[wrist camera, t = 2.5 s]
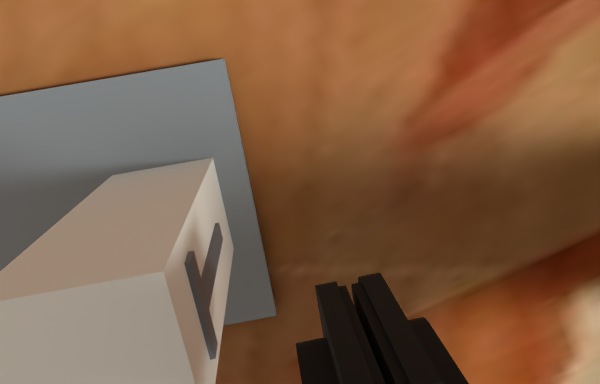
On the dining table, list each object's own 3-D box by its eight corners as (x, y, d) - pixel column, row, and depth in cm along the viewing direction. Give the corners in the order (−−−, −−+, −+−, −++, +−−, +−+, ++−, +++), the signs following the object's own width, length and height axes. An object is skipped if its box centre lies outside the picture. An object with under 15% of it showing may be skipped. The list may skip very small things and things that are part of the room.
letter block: (216, 156, 22) (170, 270, 11) (236, 247, 24) (214, 429, 13) (112, 175, 22) (-44, 309, 11) (139, 265, 24) (28, 465, 12)
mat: (224, 58, 22) (223, 58, 21) (276, 309, 26) (276, 315, 25) (-158, 123, 21) (-170, 125, 21) (-40, 368, 25) (-47, 376, 25)
